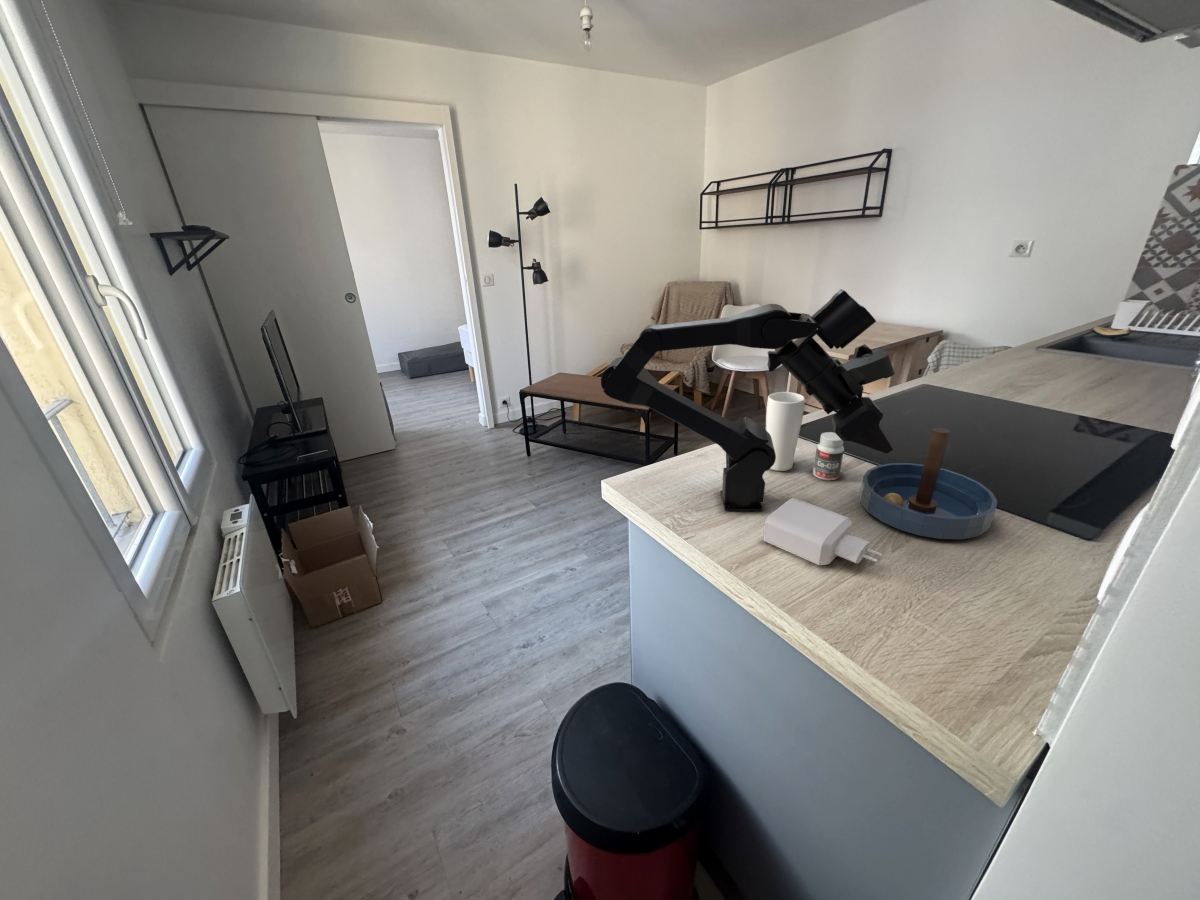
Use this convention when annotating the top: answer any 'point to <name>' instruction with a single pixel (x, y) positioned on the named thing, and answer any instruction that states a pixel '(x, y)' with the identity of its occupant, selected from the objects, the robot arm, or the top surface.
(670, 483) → the top surface
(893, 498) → the bead
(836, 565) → the top surface
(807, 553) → the charger
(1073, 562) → the top surface
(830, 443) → the pill bottle
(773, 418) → the drinking glass
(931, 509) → the stirring stick
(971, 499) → the bowl
